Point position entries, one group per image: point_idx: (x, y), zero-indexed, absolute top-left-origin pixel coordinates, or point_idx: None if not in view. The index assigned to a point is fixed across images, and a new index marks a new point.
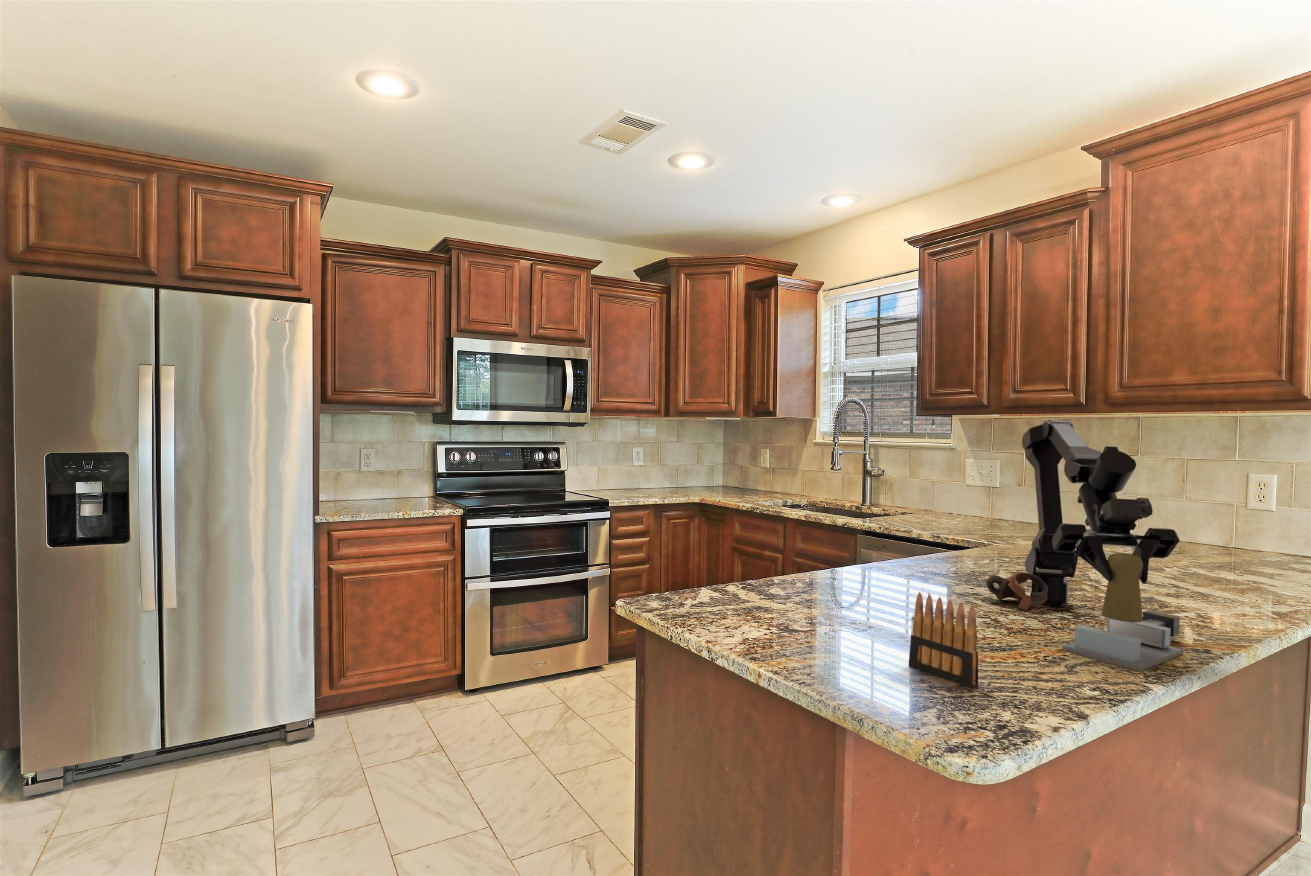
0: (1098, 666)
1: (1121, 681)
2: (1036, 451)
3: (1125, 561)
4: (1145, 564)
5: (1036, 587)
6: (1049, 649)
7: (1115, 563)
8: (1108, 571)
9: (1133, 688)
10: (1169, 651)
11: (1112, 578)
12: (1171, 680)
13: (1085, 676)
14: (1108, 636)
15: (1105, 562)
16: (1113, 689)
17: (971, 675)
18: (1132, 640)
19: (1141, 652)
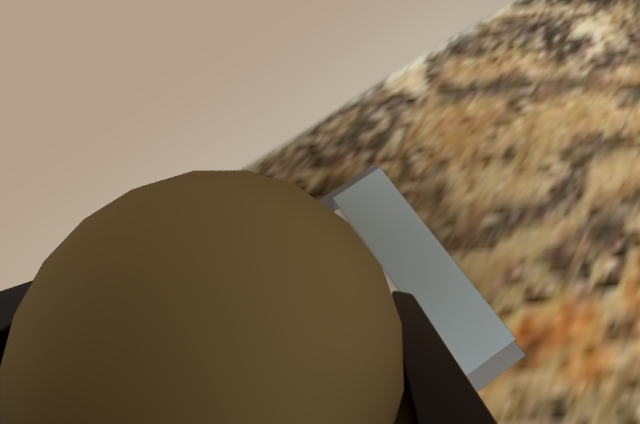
0: (474, 202)
1: (474, 99)
2: None
3: (306, 194)
4: (18, 298)
5: None
6: (563, 361)
7: (381, 273)
8: (421, 321)
9: (470, 60)
10: None
11: (394, 291)
12: (332, 117)
13: (556, 123)
14: (430, 234)
15: (441, 389)
16: (526, 49)
17: None
18: (377, 178)
19: None
